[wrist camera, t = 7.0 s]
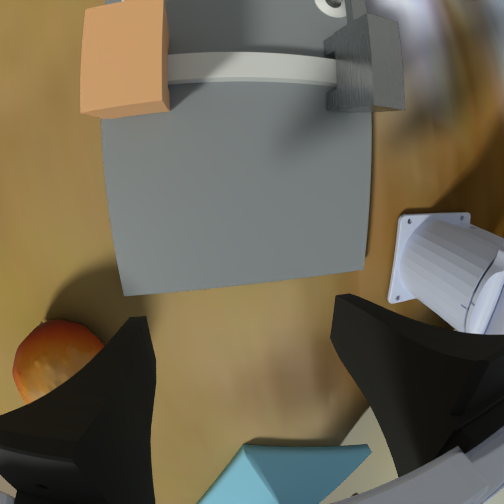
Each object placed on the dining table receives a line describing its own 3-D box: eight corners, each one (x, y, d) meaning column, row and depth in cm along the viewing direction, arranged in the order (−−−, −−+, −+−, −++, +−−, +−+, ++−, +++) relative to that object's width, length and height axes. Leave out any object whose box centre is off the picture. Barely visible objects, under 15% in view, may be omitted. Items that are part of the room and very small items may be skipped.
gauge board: (354, -8, 16) (368, -18, 14) (357, 264, 24) (372, 276, 21) (111, -15, 13) (104, -30, 11) (126, 289, 20) (120, 305, 18)
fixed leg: (344, -5, 15) (387, -35, 10) (353, 114, 18) (405, 110, 13) (318, -10, 15) (356, -45, 10) (326, 111, 18) (373, 105, 13)
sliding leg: (171, -19, 13) (169, -65, 8) (169, 113, 16) (162, 100, 11) (116, -11, 12) (97, -53, 7) (110, 120, 16) (80, 113, 10)
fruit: (3, 297, 17) (9, 371, 12) (92, 294, 23) (127, 357, 18) (14, 374, 19) (33, 446, 14) (89, 366, 25) (122, 429, 20)
